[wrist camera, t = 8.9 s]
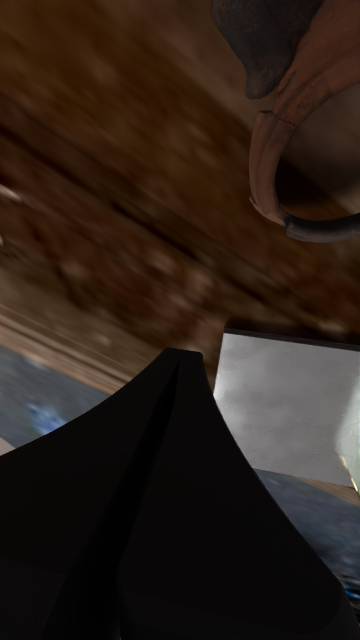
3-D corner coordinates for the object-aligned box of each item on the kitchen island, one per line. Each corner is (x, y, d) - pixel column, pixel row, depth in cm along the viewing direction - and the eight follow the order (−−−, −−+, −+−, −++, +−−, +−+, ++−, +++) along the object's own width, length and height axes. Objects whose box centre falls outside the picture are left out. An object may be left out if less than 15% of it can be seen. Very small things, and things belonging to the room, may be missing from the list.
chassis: (497, 364, 18) (556, 399, 15) (405, 487, 24) (433, 530, 21) (224, 327, 20) (223, 350, 17) (203, 449, 26) (200, 483, 23)
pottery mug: (472, 52, 12) (601, 117, 8) (306, 205, 20) (322, 284, 15) (288, -198, 9) (328, -360, 4) (168, 106, 16) (134, 170, 11)
